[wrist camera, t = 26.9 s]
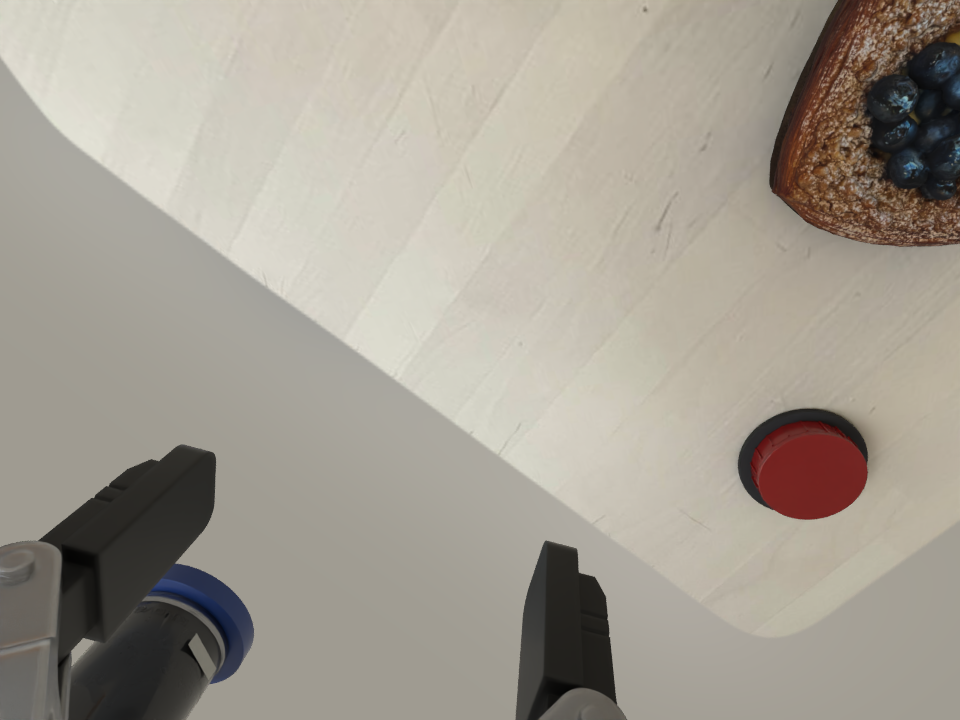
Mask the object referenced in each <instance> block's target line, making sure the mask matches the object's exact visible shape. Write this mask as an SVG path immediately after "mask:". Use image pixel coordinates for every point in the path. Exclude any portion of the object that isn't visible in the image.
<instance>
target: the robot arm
mask: <svg viewBox="0 0 960 720" xmlns="http://www.w3.org/2000/svg"><path fill="white" fill-rule="evenodd" d="M215 472H216V457H215V454H214V453H213V452H210V451H206V450H202V449H198V448H194V447H191V446H187V445H179V446H177V447H176V448H174V449H173V450H172V451H171V452H170V453H168V454H167V455H166V456H165V457H164V458H162V459H161V460H160V461H156V460H152V459H151V460H148V461H146V462H144V463H141V464H139V465H137V466H134V467H132V468H129V469H127V470H126V471H125V472H123V473H122V474H121V475H120V476H118V477H117V478H116V479H115V480H113V481H112V482H111V483H110V485H109V487H107V486H106V487H105V488H104V489H102V490H101V491H100V492H99V493H97V494H96V495H95V498H91V499H90V500H88V501H87V502H86V503H85V504H83V505H82V506H81V507H80V508H79V509H77V510H76V511H75V512H74V513H72V514H71V515H70V516H68V517H67V518H66V519H65V520H63V521H62V522H61V523H60V524H58V525H57V526H56V527H55V528H53V529H52V530H51V531H50V532H48V533H47V534H46V535H45V536H43V538H41V539H40V540H38V541H22V542H16V543H11V544H8V545H4V546H2V547H0V720H186V719H187V718H188V716H189V714H190V713H191V711H192V710H193V708H194V707H195V705H196V704H197V702H198V701H199V699H200V698H201V696H202V694H203V693H204V691H205V690H206V688H207V687H208V685H209V684H210V682H211V680H212V679H213V677H214V676H215V675H216V674H217V673H218V672H219V670H220V668H221V667H222V665H223V664H224V662H225V661H226V659H227V656H228V652H229V644H228V639H227V636H226V633H225V631H224V629H223V627H222V626H221V624H220V623H219V622H218V620H217V619H216V618H215V617H214V616H213V615H212V614H211V613H210V612H209V611H208V610H207V609H205V608H204V607H203V606H201V605H200V604H198V603H197V602H195V601H193V600H191V599H189V598H187V597H184V596H182V595H179V594H175V593H171V592H165V591H151V590H152V589H153V588H154V586H155V585H156V584H157V583H158V582H159V581H160V580H161V578H162V577H163V576H164V575H165V574H166V573H167V572H168V570H169V569H170V568H171V567H172V566H173V565H174V564H175V562H176V561H177V560H178V559H179V558H180V557H181V556H182V554H183V553H184V552H185V551H186V550H187V549H188V548H189V546H190V545H191V544H192V543H193V542H194V541H195V540H196V538H197V537H198V536H199V535H200V534H201V533H202V532H203V530H204V529H205V527H206V526H207V524H208V522H209V520H210V518H211V515H212V512H213V509H214V498H215ZM607 617H608V614H607V605H606V596H605V595H604V593H603V591H602V589H601V587H600V585H599V583H598V582H597V580H596V578H595V577H593V576H589V575H585V574H581V573H579V571H578V553H577V549H576V548H573V547H569V546H565V545H561V544H557V543H554V542H550V541H545V542H544V545H543V547H542V550H541V553H540V556H539V559H538V562H537V565H536V568H535V571H534V574H533V577H532V580H531V583H530V586H529V589H528V593H527V596H526V601H525V606H524V613H523V624H522V638H521V652H520V665H519V679H518V694H517V708H516V720H627V719H626V717H625V715H624V713H623V712H622V711H621V709H620V708H619V707H618V706H617V702H616V693H615V684H614V674H613V664H612V654H611V644H610V637H609V625H608V620H607ZM82 638H86V639H90V640H94V643H93V644H92V645H91V646H90V647H89V648H88V649H87V650H86V652H84V654H83V655H82V656H81V657H80V658H79V659H78V660H77V661H76V663H75V664H74V665H73V666H72V667H71V661H72V658H71V650H72V649H73V648H74V647H75V646H76V645H77V644H78V643H79V642H80V641H81V640H82Z"/></svg>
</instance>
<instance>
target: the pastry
mask: <svg viewBox="0 0 960 720" xmlns="http://www.w3.org/2000/svg"><path fill="white" fill-rule="evenodd" d="M770 187H771V189H772V192H773V193H774V194H777V196H779V197H780V198H781V199H782V200H783V201H784V202H785V203H786V204H787V205H788V206H789V207H790V208H791V209H792V210H793V211H795V212H796V213H797V214H798V215H800V216H801V217H802V218H803V219H804V220H805V221H806V222H807V223H810V224H811V225H813V226H815V227H817V228H819V229H822V230H825V231H828V232H830V233H832V234H835V235H839V236H842V237H846V238H849V239H852V240H856V241H860V242H866V243H871V244H879V245H892V246H899V247H904V246H906V247H911V246H941V245H949V244H960V0H838V2H837V3H836V5H835V7H834V9H833V10H832V12H831V14H830V16H829V17H828V19H827V22H826V24H825V26H824V28H823V30H822V32H821V34H820V36H819V38H818V40H817V43H816V45H815V47H814V49H813V51H812V53H811V55H810V57H809V59H808V61H807V63H806V65H805V67H804V69H803V71H802V73H801V75H800V78H799V80H798V82H797V85H796V87H795V89H794V92H793V94H792V97H791V99H790V101H789V104H788V106H787V109H786V112H785V115H784V118H783V121H782V123H781V126H780V129H779V132H778V135H777V137H776V141H775V145H774V149H773V153H772V157H771V163H770Z"/></svg>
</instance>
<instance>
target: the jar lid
mask: <svg viewBox="0 0 960 720" xmlns="http://www.w3.org/2000/svg"><path fill="white" fill-rule="evenodd" d="M750 465H751V473H752V476H751V478H752V480H753V482H754V484H755V486H756V488H758V491H759V493H760V494H761V496H762V498H763V500H764V501H766V503H767V504H768V505H769V506H770V507H771V508H772V509H774V510H775V511H777V512H778V513H780V514H782V515H785V516H787V517H791V518H795V519H804V520H810V519H819V518H824V517H828V516H831V515H834V514H836V513H838V512H840V511H842V510H843V509H845V508H847V507H848V506H849V505H851V504H852V503H853V502H854V501H855V500H856V499H857V498H858V496H859V495H860V494H861V492H862V490H863V489H864V486H865V484H866V480H867V474H868V471H867V464H866V461H865V458H864V456H863V455H862V453H861V452H860V450H859V449H858V446H857V445H856V444H855V443H854V441H853V440H852V439H851V438H850V437H849V436H848V437H847V436H846V435H845V434H844V433H843V432H841V431H840V429H839V428H838V427H836V426H835V427H834V426H831V425H829V424H826V423H822V422H821V421H818V422H816V421H799V422H795V423H791V424H787V425H785V426H781V427H780V428H778V429H776V430H774V431H773V432H771V433H770V434H768V435H766V437H765V438H764V439H763V440H762V441H761V442H760V443H759V445H758V446H757V448H755V452H754V454H753V457H752V461H751V462H750Z"/></svg>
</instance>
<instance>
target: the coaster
mask: <svg viewBox="0 0 960 720" xmlns="http://www.w3.org/2000/svg"><path fill="white" fill-rule="evenodd" d="M799 421H816V422H818V421H821V422H822V423H826V424H829V425H831V426H834V427H835V426H836V427H838V428H839V429H840V431H841V432H843V433H844V434H845V435H846V436H847V437H848V436H849V437H850V438H851V439H852V440H853V441H854V443H855V444H856V445H857V446H858V449H859V450H860V452H861V453H862V455H863V456H864V458H865V461H866V464H867V461H868V453H867V447H866V444H865V442H864V439H863V438H862V436H861V434H860V433H859V432H858V430H857V429H856V428H855V427H854V426H853V425H852V424H851V423H849V422H848V421H847V420H845V419H844V418H842V417H840V416H838V415H836V414H834V413H831V412H827V411H823V410H816V409H800V410H794V411H789V412H785V413H782V414H780V415H777V416H775V417H773V418H771V419H769V420H767V421H766V422H764V423H762V424H761V425H760V426H759V427H757V428H756V429H755V430H754V431H753V432H752V433H751V434H750V435H749V437H748V438H747V440H746V441H745V443H744V445H743V446H742V449H741V452H740V455H739V460H738V470H739V475H740V479H741V481H742V483H743V485H744V487H745V489H746V490H747V492H748V493H749V494H750V495H751V497H752V498H753V499H755V500H756V501H757V502H758V503H760V504H762V505H763V506H765V507H768V508H770V509H772V508H771V507H770V506H769V505H768V504H767V503H766V501H764V500H763V498H762V496H761V494H760V493H759V491H758V488H756V486H755V484H754V482H753V480H752V478H751V476H752V473H751V465H750V462H751V461H752V457H753V454H754V452H755V448H757V446H758V445H759V443H760V442H761V441H762V440H763V439H764V438H765V437H766V435H768V434H770V433H771V432H773V431H774V430H776V429H778V428H780V427H781V426H785V425H787V424H791V423H795V422H799ZM772 510H774V509H772Z"/></svg>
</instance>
